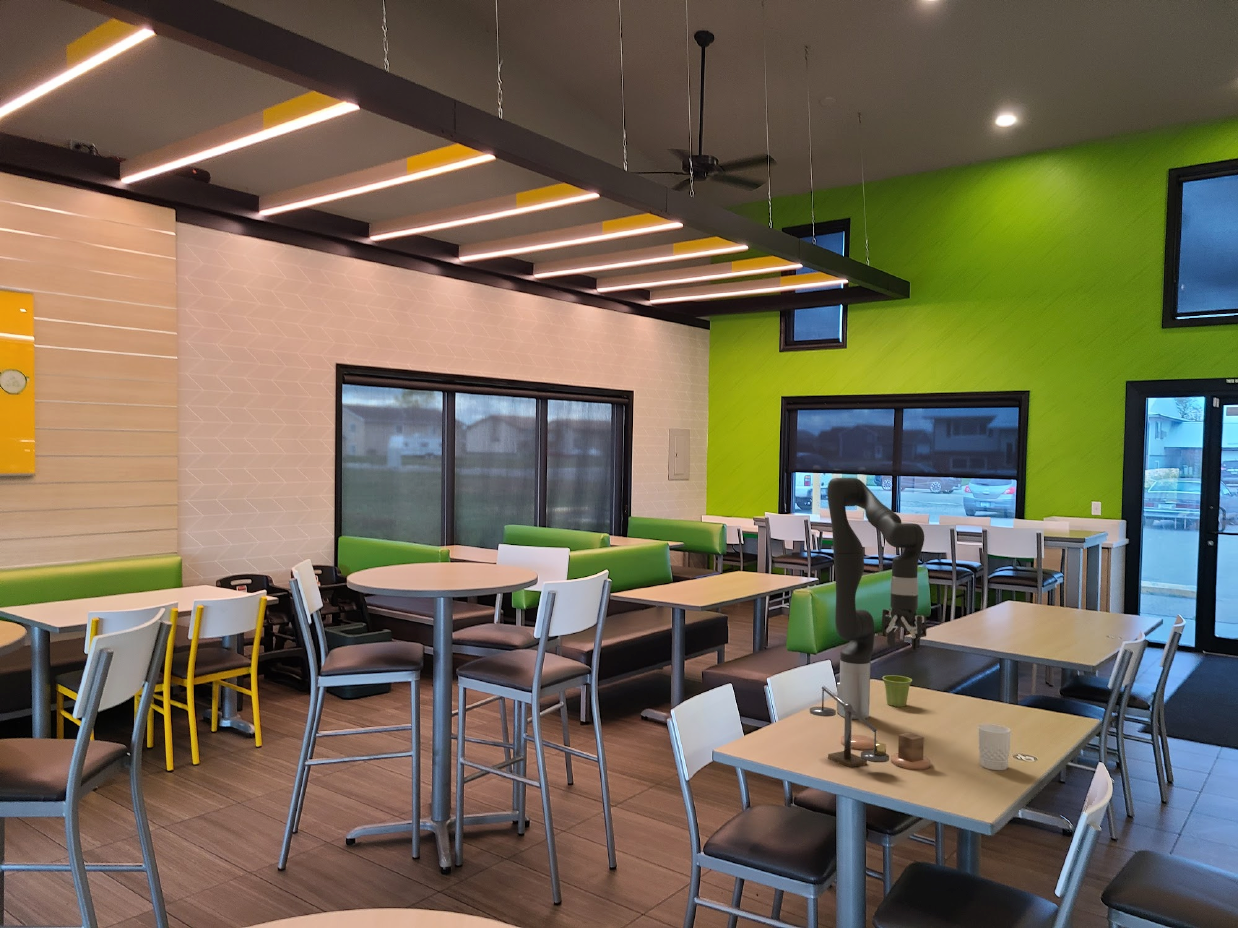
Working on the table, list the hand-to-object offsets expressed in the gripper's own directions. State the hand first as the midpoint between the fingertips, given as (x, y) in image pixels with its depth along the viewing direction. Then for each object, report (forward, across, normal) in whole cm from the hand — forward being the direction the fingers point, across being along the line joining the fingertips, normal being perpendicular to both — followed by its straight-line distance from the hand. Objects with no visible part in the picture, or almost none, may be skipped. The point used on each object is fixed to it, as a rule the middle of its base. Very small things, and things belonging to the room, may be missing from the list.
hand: (903, 648), depth 253 cm
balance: (+26, +7, -29) cm, 40 cm away
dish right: (+26, +16, -15) cm, 34 cm away
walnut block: (+25, +16, -15) cm, 33 cm away
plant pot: (+26, -27, +29) cm, 48 cm away
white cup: (+26, +28, +3) cm, 39 cm away
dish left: (+26, -2, -15) cm, 30 cm away
